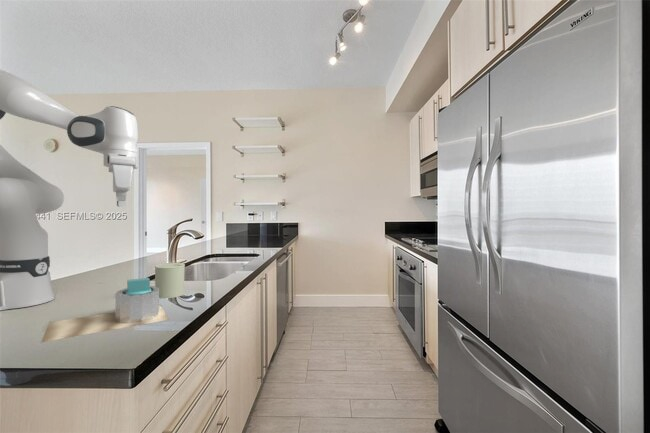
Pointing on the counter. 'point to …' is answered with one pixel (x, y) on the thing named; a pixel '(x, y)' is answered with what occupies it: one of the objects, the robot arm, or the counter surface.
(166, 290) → the can
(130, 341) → the counter surface
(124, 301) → the white thick faceted ring
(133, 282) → the teal disc with post
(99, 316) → the base plate
